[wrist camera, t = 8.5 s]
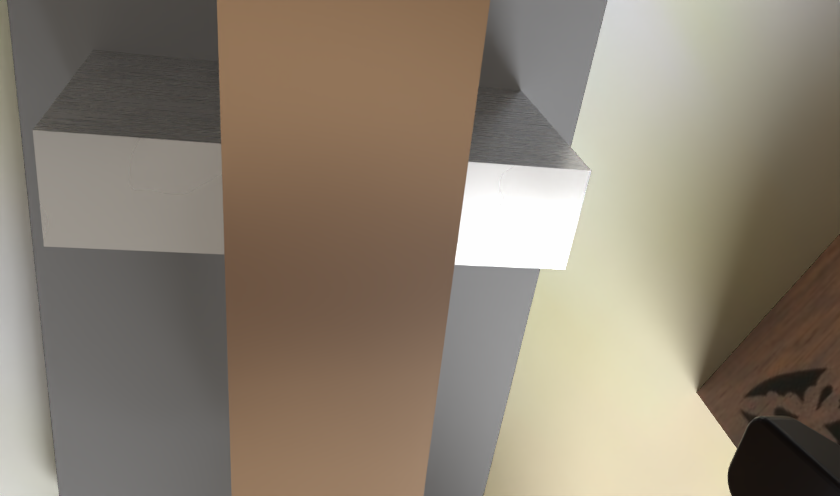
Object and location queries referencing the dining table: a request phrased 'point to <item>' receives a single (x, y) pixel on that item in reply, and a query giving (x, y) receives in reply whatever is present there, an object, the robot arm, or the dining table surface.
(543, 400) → the dining table surface
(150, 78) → the stand
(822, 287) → the tissue box cover
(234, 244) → the walnut bar
